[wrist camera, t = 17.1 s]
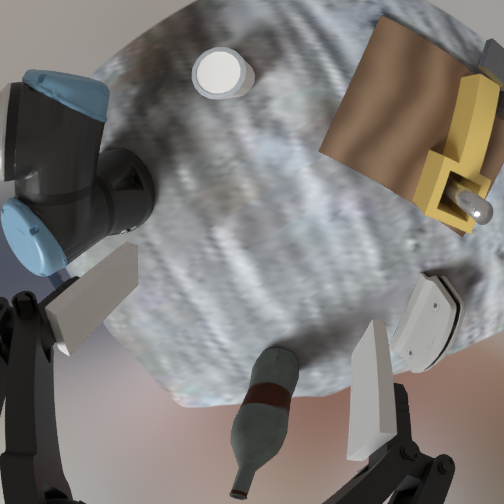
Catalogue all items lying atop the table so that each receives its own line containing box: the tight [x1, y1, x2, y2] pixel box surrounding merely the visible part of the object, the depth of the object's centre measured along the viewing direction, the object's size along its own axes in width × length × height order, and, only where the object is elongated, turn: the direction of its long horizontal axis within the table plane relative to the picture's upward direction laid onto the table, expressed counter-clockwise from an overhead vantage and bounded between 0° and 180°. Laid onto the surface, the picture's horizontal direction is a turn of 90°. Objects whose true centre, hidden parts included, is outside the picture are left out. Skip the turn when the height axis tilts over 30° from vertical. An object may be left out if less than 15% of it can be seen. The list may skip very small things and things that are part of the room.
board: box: [319, 15, 504, 237], centre depth 31 cm, size 25×22×2 cm
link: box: [413, 74, 500, 234], centre depth 27 cm, size 20×8×6 cm, turn 169°
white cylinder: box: [192, 47, 255, 99], centre depth 32 cm, size 7×7×7 cm
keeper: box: [478, 39, 504, 120], centre depth 21 cm, size 11×4×13 cm, turn 68°
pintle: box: [443, 176, 493, 225], centre depth 28 cm, size 2×2×14 cm
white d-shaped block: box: [389, 273, 465, 373], centre depth 41 cm, size 17×5×10 cm, turn 176°
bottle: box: [229, 347, 299, 500], centre depth 44 cm, size 9×9×30 cm
